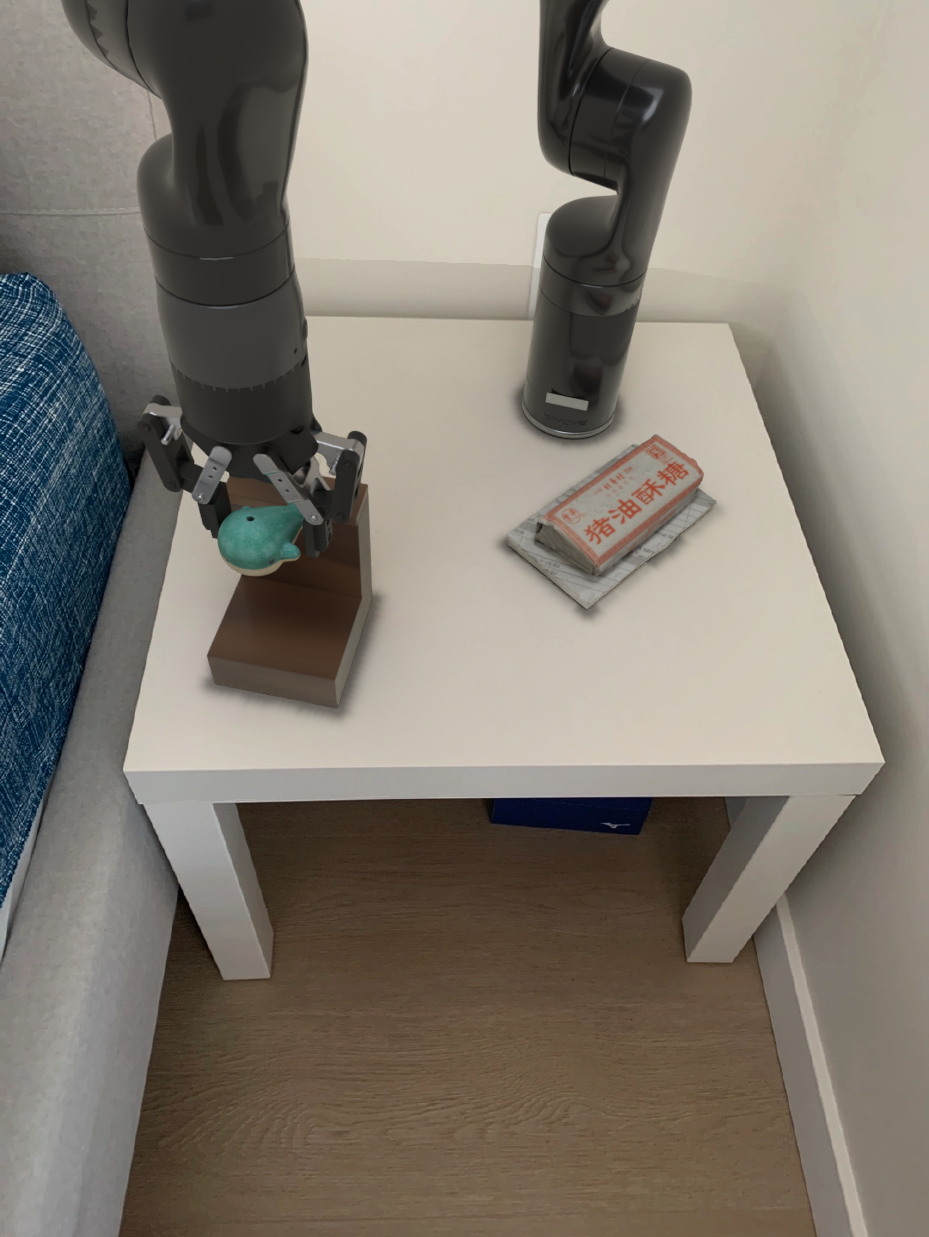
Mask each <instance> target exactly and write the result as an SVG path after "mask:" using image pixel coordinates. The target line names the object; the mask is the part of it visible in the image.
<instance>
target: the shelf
mask: <svg viewBox="0 0 929 1237" xmlns="http://www.w3.org/2000/svg"><path fill="white" fill-rule="evenodd" d="M322 477H323V478H324V480H325V481H326V483H327V484H328V486H329V487H330V489H331V490H334V485H335V477H331V476H325V475H322ZM225 482H226V485H227V490H228V495H229V500H230V505H231V510H232V512H234V511H236V510H239V509H241V508H242V507H244V506H249V507H251V508H256V507H264V506H287V504H288V503H287V502H286V501H285V500H284V498H283V497H282V496H281V494H280V493H279V491H278V490H277V489H276V487H275V486H274V485H273V484H268V483H264V482H262V481H259V480H256V479H253V478H236V477H231V476H229V475H228V478H227V480H226V481H225ZM369 494H370V493H369V484H368V483H363V482H361V483H360V490H359V494H358V497H357V499H356V500H355V503H354V506H353V509H352V512H351V516H350V519H349V521H348V523H345V524H340V523H337V522H335V521H334V520H333V519H332V529H333V533H332V536H331V539H330V542H329V544H328V547H327V549H326V551H325V552H320V553H319V555H318V558H313V557H308V556H306V551H305V542H304V534H303V528H302V529H301V531H300V533H299V535H298V537H297V539H296V541H295V543H294V545H295V546H297V547H298V548H299V550H300V552H301V555H300V557H299V558H298V559H297V560H295V561H286V562H283V563H282V564H281V565H280V567H279V568H278V569H277V570H276V571H274V572H272V573H270V574H267V575H263V576H248V575H244V574H241V573H240V577H239V579H238V582H237V584H236V587H235V588H234V591H233V594H232V596H231V598H230V600H229V603H228V605H227V608H226V610H225V612H224V614H223V617H222V618H221V622H220V624H219V626H218V628H217V630H216V633H215V634H214V635H215V636H214V637H213V640H212V642H211V645H210V646H209V649H208V651H207V654H206V658H207V662H208V665H209V669H210V673H211V676H212V680H213V683H214V684H215V685H219V686H224V687H229V688H234V689H239V690H245V691H249V692H254V693H258V694H264V695H269V696H273V697H279V698H284V699H288V700H289V699H290V700H293V701H298V702H304V703H309V704H314V705H318V706H324V707H329V708H334V709H338V708H339V705H340V702H341V698H342V695H343V693H344V690H345V686H346V683H347V680H348V677H349V674H350V671H351V667H352V665H353V661H354V658H355V655H356V652H357V649H358V646H359V643H360V640H361V635H362V633H363V630H364V627H365V624H366V621H367V618H368V615H369V612H370V608H371V606H372V602H373V580H372V579H373V578H372V577H373V576H372V575H373V574H372V549H371V547H372V546H371V520H370V500H369V499H370V497H369ZM311 495H312V494H311Z"/></svg>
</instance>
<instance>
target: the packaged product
mask: <svg viewBox="0 0 929 1237" xmlns="http://www.w3.org/2000/svg"><path fill="white" fill-rule="evenodd" d="M704 476H705V473H704V471H703V469H702V468H701V467H700V466H699V464H698V462H697V460H696V459H695V458H693V457H690V456H689V455H687V453H685V452H683V451H681V450H680V449H679V448H678V447H677V446H675V445H674V444H672V443H671V442H669V440H666V439H664V438H663V437H662V436H660V435H659V434H657V433H655V434H653V435H652V436H651V437H650V438H649V439H647V440H646V441H644V442H641V443H640V444H638V443H637V444H636V443H632V444H631V445H629V447H628V448H627V449H624V451H622V452H621V453H620V454H618V455H616V456H615V457H614V458H612V459H611V460H609V461H608V462H606V463H605V464H604V465H602V466H601V467H600V468H598V469H597V470H595V471H594V472H592V473H591V474H589V475H588V476H587V477H586V478H584V479H582V480H581V481H580V482H578V483H577V484H576V485H575V486H573V487H571V488H570V489H568V490H567V491H566V492H564V493H563V494H561V495H560V496H558V497H557V498H556V499H554V500H553V501H552V502H551V503H550V504H548V505H546V506H544V507H543V508H541V509H540V510H539V511H537V512H536V513H534V514H533V515H531V516H530V517H528V518H527V519H526V520H525V521H523V522H521V523H520V524H519V525H518V526H517V527H515V528H514V529H512V530H510V531H509V532H507V534H506V541H507V545H508V546H509V547H510V548H511V549H512V550H514V551H515V552H516V553H517V554H518V555H520V556H521V557H522V558H524V559H525V560H526V561H527V562H529V563H530V564H531V565H532V566H533V567H535V569H537V570H538V571H539V572H541V573H542V574H543V575H544V576H546V577H547V578H548V579H549V580H551V581H552V582H553V583H554V584H555V585H557V586H558V587H559V588H560V589H561V590H563V591H564V592H565V593H566V594H568V595H569V596H570V597H571V598H572V599H574V601H576V602H577V603H578V604H579V605H581V606H582V607H583V608H585V609H586V610H588V609H589V608H591V607H592V606H593V605H595V603H597V602H599V600H600V599H601V598H603V597H604V596H605V595H607V593H609V592H610V591H611V590H613V589H614V588H615V587H616V586H618V585H619V584H620V583H621V582H622V581H623V580H624V579H625V578H626V577H627V576H629V575H630V574H631V573H633V572H634V571H635V570H636V569H638V568H639V567H641V566H642V565H643V564H645V563H646V562H648V560H650V559H652V558H653V557H655V556H656V555H658V554H659V553H661V552H662V551H664V550H665V549H667V548H668V547H669V546H670V545H671V544H672V542H673V541H674V540H675V539H676V538H677V537H678V536H679V535H681V533H682V532H684V531H686V529H688V528H690V526H692V525H693V524H695V523H696V522H697V521H698V520H699V519H700V518H702V516H704V515H705V514H706V513H707V512H708V511H709V510H711V509H712V508H713V507H715V505H716V504H717V503H718V502H717V501H718V500H716V499H714V498H713V497H711V496H710V495H709V494H707V493H706V492H705V491H703V490H702V489H701V488H699V487H700V485H701V483H702V482H703V479H704Z"/></svg>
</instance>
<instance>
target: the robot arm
mask: <svg viewBox="0 0 929 1237" xmlns="http://www.w3.org/2000/svg"><path fill="white" fill-rule="evenodd" d="M609 2H610V0H538V4H539V6H538V7H539V16H538V17H539V20H538V21H539V22H538V23H539V24H538V26H539V27H538V55H537V58H538V59H537V89H536V92H537V93H536V125H537V126H536V128H537V137H538V138H537V139H538V143H539V149H540V151H541V154H542V157H543V159H544V160H545V161H546V162H547V163H548V164H549V165H551V166H552V167H553V168H554V169H556V170H558V171H559V172H562V173H564V174H566V175H569V176H572V177H574V178H577V179H579V180H583V181H586V182H588V183H592V184H595V185H597V186H600V187H602V188H606V189H608V190H610V191H611V190H612V191H614V192H616V193H615V194H611V195H608V194H607V195H594V196H592V195H591V196H585V197H580V198H575V199H573V200H570V201H567V202H566V203H564V204H562V205H560V206H559V207H557V208H556V209H555V210H554V211H553V213H552V214H550V217H549V219H548V221H547V223H546V226H545V229H544V237H543V245H542V252H541V260H540V269H539V276H538V284H537V292H536V299H535V300H536V301H535V306H534V307H535V308H534V314H533V321H532V329H531V337H530V344H529V353H528V358H527V366H526V367H527V368H526V374H525V381H524V388H523V391H522V396H521V408H522V411H523V413H524V415H525V417H526V419H527V420H528V421H529V422H530V423H531V424H532V425H533V426H534V427H536V428H537V429H539V430H540V431H542V432H544V433H547V434H548V435H552V436H555V437H558V438H564V439H585V438H589V437H592V436H593V437H594V436H595V435H597V434H600V433H602V432H603V431H604V430H606V429H607V428H608V427H609V426H610V425H611V424H612V423H613V420H614V418H615V414H616V410H617V402H618V397H619V393H620V389H621V385H622V380H623V378H624V372H625V369H626V365H627V360H628V356H629V351H630V348H631V342H632V340H633V339H632V338H633V334H634V330H635V325H636V321H637V318H638V312H639V308H640V304H641V300H642V296H643V290H644V286H645V282H646V277H647V274H648V268H649V265H650V261H651V258H652V257H651V256H652V251H653V249H654V245H655V242H656V239H657V235H658V232H659V228H660V225H661V221H662V217H663V214H664V210H665V205H666V202H667V199H668V198H667V197H668V195H669V194H668V193H669V191H670V190H669V189H670V187H671V183H672V179H673V176H674V173H675V170H676V166H677V163H678V160H679V156H680V153H681V150H682V147H683V144H684V139H685V136H686V132H687V128H688V125H689V121H690V115H691V111H692V106H693V105H692V104H693V87H692V81H691V78H690V76H689V74H688V73H687V72H686V71H685V70H683V69H681V68H679V67H677V66H674V65H671V64H668V63H666V62H662V61H659V60H656V59H652V58H649V57H645V56H642V55H638V54H636V53H633V52H630V51H626V50H623V49H619V48H615V47H613V46H611V45H609V44H607V42H606V40H605V39H604V37H603V35H602V16H603V11H604V10H605V8H606V7H607V5H608V3H609ZM60 3H61V7H62V10H63V13H64V15H65V16H64V17H65V18H66V20H67V22H68V25H69V26H70V28H71V30H72V32H73V33H74V35H75V36H76V38H77V39H78V41H79V42H80V43H81V44H82V45H83V46H84V47H85V48H86V49H87V50H88V51H89V52H90V53H91V54H92V55H93V56H94V57H95V58H97V59H98V60H99V61H101V63H103V64H104V65H106V66H107V67H109V68H111V69H112V70H114V71H115V72H117V73H119V74H120V75H122V76H123V77H124V78H126V79H129V80H130V81H132V82H134V83H135V84H136V85H138V86H139V87H141V88H142V89H144V90H146V92H149V93H150V94H152V95H153V96H155V97H156V98H158V99H159V100H161V101H162V104H163V106H164V108H165V112H166V115H167V118H168V121H169V126H170V130H171V132H170V133H167V134H165V135H163V136H162V137H160V138H158V139H156V140H155V141H154V142H152V144H150V145H149V146H148V147H147V149H146V150H145V151H144V153H143V154H142V156H141V158H140V160H139V163H138V166H137V169H136V182H135V184H136V195H137V203H138V207H139V208H138V209H139V213H140V217H141V223H142V227H143V232H144V236H145V240H146V244H147V249H148V252H149V257H150V262H151V266H152V269H153V276H154V280H155V288H156V305H157V311H158V312H157V313H158V317H159V322H160V325H161V330H162V334H163V335H162V336H163V338H164V343H165V348H166V351H167V355H168V356H167V357H168V360H169V364H170V368H171V372H172V377H173V381H174V385H175V389H176V394H177V398H178V402H179V406H178V405H176V406H175V405H172V402H170V400H169V399H168V398H167V397H166V396H164V395H161V394H155V395H153V396H152V397H151V399H150V401H149V403H148V404H147V406H146V407H145V409H144V411H143V413H142V415H141V416H140V418H139V420H138V421H137V423H136V428H137V431H138V433H139V435H140V438H141V439H142V441H143V443H144V446H145V448H146V451H147V452H148V455H149V457H150V459H151V461H152V464H153V466H154V468H155V469H156V472H157V475H158V476H159V479H160V481H161V483H162V485H163V487H164V488H165V489H166V490H167V491H169V492H172V493H179V492H181V490H183V491H185V492H188V493H190V494H191V498H192V499H193V500H194V501H195V502H196V503H197V508H198V511H199V514H200V515H199V516H200V519H201V524H202V526H203V527H204V529H205V530H206V531H209V532H210V534H211V538H212V539H214V540H218V532H219V529H220V526H221V524H222V522H223V521H224V520H225V518H226V517H227V516H228V515H229V514H231V513H232V510H231V505H230V500H229V495H228V490H227V485H226V482H227V481H222V479H223V477H224V474H225V472H227V473H228V477H229V476H231V477H236V478H253V479H256V480H259V481H262V482H264V483H268V484H273V485H274V486H275V487H276V489H277V490H278V491H279V493H280V494H281V496H282V497H283V498H284V500H285V501H286V502H287V503H294V505H295V506H296V507H297V509H298V510H299V512H300V513H301V514H302V516H303V517H304V519H303V522H302V526H303V534H304V542H305V551H306V556H308V557H313V558H318V555H319V553H320V552H325V551H326V549H327V547H328V544H329V542H330V539H331V536H332V533H333V529H332V519H333V520H334V521H335V522H337V523H340V524H345V523H348V521H349V519H350V516H351V512H352V509H353V506H354V503H355V500H356V499H357V497H358V494H359V490H360V483H362V476H363V470H364V464H365V457H366V452H367V451H366V450H367V443H368V437H367V436H366V434H364V432H362V431H359V430H351V431H350V432H349V433H347V436H346V437H342V436H339V435H335V434H332V433H329V432H325V431H323V427H322V426H321V423H320V422H319V421H318V419H317V418H316V417H315V414H314V411H313V390H312V381H311V371H310V360H309V358H310V357H309V349H308V335H309V331H308V329H309V328H308V327H309V326H308V319H307V318H306V316H305V307H304V299H303V293H302V288H301V285H300V282H299V277H298V273H297V270H296V264H295V263H296V262H295V253H294V244H293V243H294V242H293V234H292V223H291V214H290V205H289V198H288V187H289V182H290V176H291V171H292V166H293V163H294V158H295V152H296V146H297V141H298V140H297V139H298V134H299V133H298V132H299V126H300V121H301V115H302V111H303V105H304V99H305V94H306V87H307V83H308V82H307V81H308V73H309V72H308V71H309V63H310V45H309V44H310V43H309V34H308V27H307V21H306V17H305V13H304V9H303V6H302V3H301V0H60ZM184 434H185V435H186V436H187V437H188V438H189V440H191V441H192V442H193V443H194V445H196V446H197V447H198V448H199V449H200V450H201V451H202V452H203V453H204V454H205V456H207V457H208V458H207V460H206V462H205V464H204V466H201V465H199V464H197V463H196V462H195V458H194V456H193V454H192V452H191V449H190V447H189V444H188V441H187V440H186V437H185V435H184ZM317 453H318V454H319V455H321V456H322V457H324V459H325V462H326V466H327V467H328V474H329V475H330V476H333V477H334V478H335V485H334V490H331V489H330V487H329V486H328V484H327V483H326V481H325V480H324V478H323V477H322V476H323V475H322V474H321V471H320V463H319V461H318V459H317V458H316V456H315V455H317ZM311 494H312V495H311Z"/></svg>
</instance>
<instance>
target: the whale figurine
mask: <svg viewBox="0 0 929 1237" xmlns="http://www.w3.org/2000/svg"><path fill="white" fill-rule="evenodd" d="M303 519H304V517H303V516H302V514H301V513H300V512H299V510H298V509H297V507H296V506H295V505H294V503H288V504H287V506H264V507H256V508H251V507H249V506H244V507H242V508H241V509H239V510H236V511H234V512H232V513H231V514H229V515H228V516H227V517H226V518H225V520H224V521H223V522H222V524H221V526H220V529H219V532H218V539H217V546H218V550H219V555H220V557H221V558H222V560H223V561H224V563H225V564H226V565H227V566H228V567H229V568H231V569H232V570H233V571H234V572H236V573H239V574H240V575H241V574H244V575H248V576H263V575H267V574H270V573H272V572H274V571H276V570H277V569H278V568H279V567H280V565H281V564H282V563H283V562H286V561H295V560H297V559H298V558H299V557H300V555H301V552H300V550H299V548H298V547H297V546H295V545H294V543H295V541H296V539H297V537H298V535H299V533H300V531H301V529H302V528H303V526H302V522H303Z"/></svg>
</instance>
